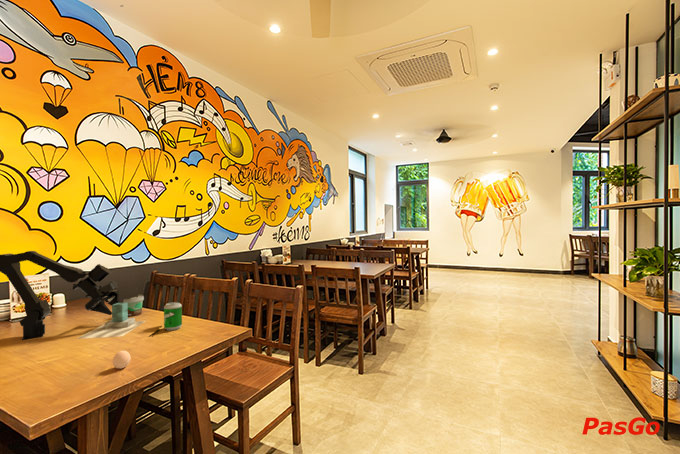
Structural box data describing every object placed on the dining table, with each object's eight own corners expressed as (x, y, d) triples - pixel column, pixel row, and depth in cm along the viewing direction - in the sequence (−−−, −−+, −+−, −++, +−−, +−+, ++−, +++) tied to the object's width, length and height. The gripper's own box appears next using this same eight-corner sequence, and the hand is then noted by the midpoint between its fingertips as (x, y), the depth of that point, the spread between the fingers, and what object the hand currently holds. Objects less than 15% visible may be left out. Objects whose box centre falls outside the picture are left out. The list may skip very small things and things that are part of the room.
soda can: (177, 325, 152) (177, 300, 152) (184, 328, 148) (184, 303, 148) (161, 329, 147) (161, 303, 147) (168, 332, 142) (167, 306, 142)
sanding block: (104, 328, 144) (104, 306, 143) (112, 324, 150) (112, 302, 150) (127, 327, 145) (127, 305, 145) (134, 323, 151) (134, 301, 151)
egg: (132, 367, 107) (132, 350, 107) (114, 372, 103) (114, 355, 103) (128, 363, 110) (128, 346, 110) (110, 368, 106) (110, 351, 106)
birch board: (75, 342, 130) (75, 338, 130) (107, 325, 152) (107, 322, 152) (121, 339, 133) (121, 336, 133) (146, 323, 155) (146, 320, 155)
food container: (134, 318, 165) (134, 299, 165) (123, 318, 165) (123, 299, 165) (149, 311, 177) (149, 294, 177) (138, 311, 178) (138, 294, 177)
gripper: (92, 280, 137) (119, 304, 139) (116, 273, 156) (139, 295, 157) (72, 298, 136) (99, 322, 138) (99, 289, 155) (123, 311, 156)
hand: (117, 311), depth 147 cm, fingers open, 9 cm apart
